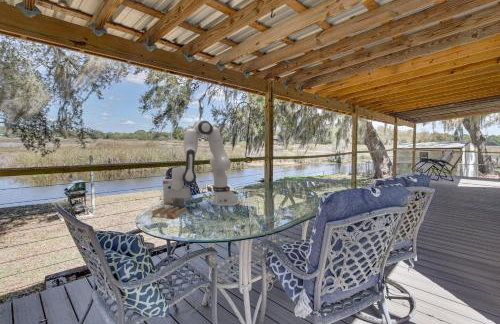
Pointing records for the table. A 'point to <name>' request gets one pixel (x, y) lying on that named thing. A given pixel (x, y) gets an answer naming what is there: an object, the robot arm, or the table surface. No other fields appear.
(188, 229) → the table surface
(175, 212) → the rack
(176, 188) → the robot arm
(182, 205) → the blanking panel
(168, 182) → the cracker box
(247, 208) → the table surface
